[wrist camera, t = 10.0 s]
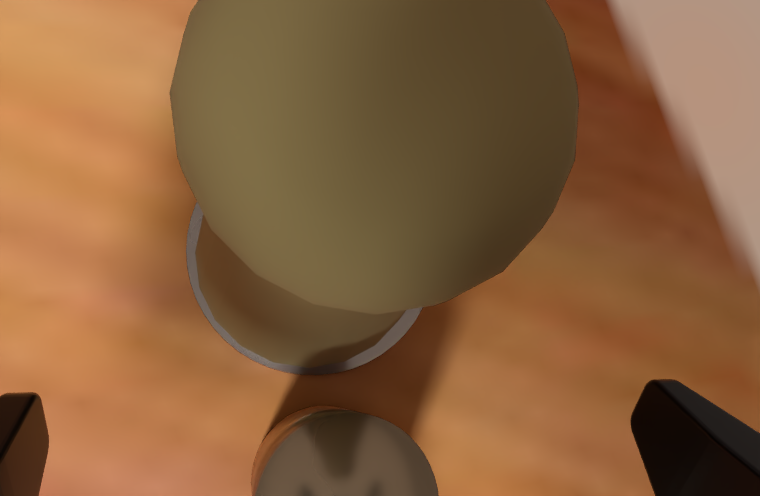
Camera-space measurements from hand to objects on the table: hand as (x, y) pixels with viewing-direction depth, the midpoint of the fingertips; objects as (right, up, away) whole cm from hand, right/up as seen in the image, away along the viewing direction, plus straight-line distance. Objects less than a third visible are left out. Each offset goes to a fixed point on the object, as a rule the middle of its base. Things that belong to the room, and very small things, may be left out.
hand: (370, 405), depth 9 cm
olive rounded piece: (-2, +2, +8) cm, 9 cm away
